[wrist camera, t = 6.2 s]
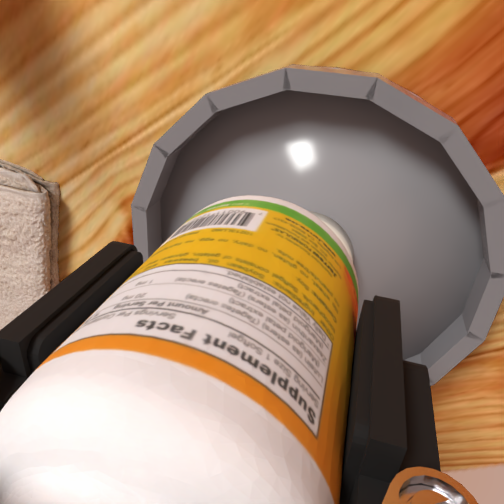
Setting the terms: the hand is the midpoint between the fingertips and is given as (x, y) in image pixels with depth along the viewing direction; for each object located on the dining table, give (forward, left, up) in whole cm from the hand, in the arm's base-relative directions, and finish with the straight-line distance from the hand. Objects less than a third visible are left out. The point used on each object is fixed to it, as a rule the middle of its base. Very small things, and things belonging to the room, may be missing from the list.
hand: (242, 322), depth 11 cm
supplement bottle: (0, 0, -2) cm, 2 cm away
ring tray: (0, +7, -17) cm, 18 cm away
